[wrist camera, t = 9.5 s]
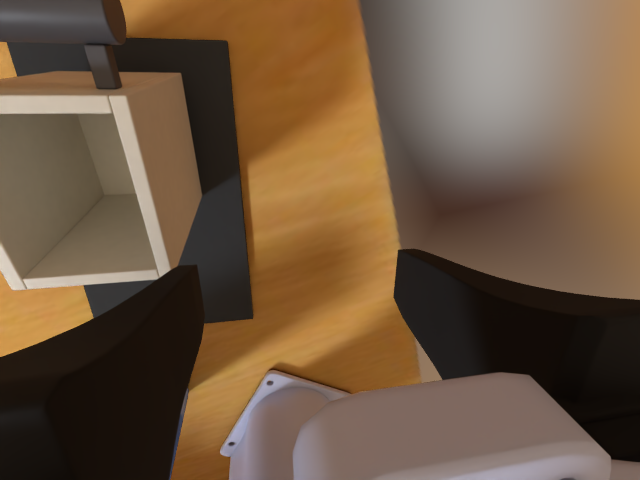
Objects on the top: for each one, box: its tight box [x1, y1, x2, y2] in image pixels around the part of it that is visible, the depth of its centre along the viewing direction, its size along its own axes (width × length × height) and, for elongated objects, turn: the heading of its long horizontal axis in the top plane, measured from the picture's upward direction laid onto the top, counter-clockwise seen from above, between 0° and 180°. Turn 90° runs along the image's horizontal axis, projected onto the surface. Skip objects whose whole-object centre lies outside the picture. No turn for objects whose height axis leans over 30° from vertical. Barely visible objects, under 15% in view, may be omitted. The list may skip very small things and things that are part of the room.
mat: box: [7, 38, 253, 324], centre depth 19 cm, size 17×10×1 cm, turn 0°
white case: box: [0, 0, 202, 290], centre depth 13 cm, size 8×6×9 cm
